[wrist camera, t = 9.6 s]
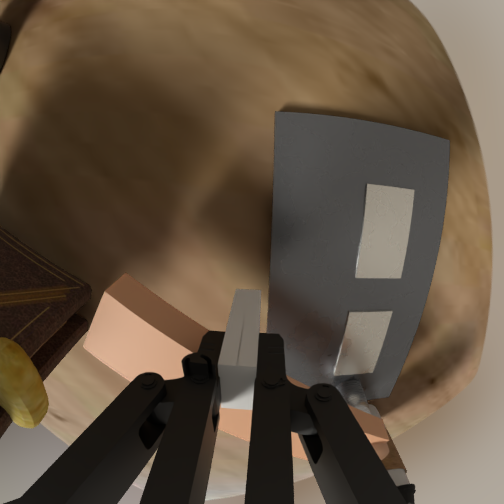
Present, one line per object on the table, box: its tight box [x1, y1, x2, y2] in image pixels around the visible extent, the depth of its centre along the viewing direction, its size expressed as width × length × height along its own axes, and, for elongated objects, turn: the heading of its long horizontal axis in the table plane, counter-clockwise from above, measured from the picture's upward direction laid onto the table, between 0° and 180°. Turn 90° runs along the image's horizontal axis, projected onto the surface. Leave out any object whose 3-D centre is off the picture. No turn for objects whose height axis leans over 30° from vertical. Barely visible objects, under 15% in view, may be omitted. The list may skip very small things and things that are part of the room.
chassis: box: [266, 111, 450, 415], centre depth 18 cm, size 26×14×7 cm, turn 179°
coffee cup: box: [368, 404, 416, 504], centre depth 20 cm, size 8×8×15 cm
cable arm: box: [83, 273, 389, 460], centre depth 15 cm, size 24×5×3 cm, turn 54°
